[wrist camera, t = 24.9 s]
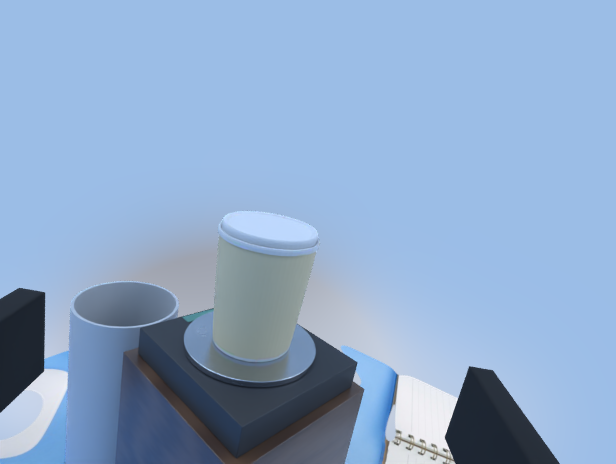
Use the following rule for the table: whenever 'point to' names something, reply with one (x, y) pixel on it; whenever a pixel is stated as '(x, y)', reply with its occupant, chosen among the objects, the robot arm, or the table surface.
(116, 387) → the cylinder vase
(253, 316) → the coffee cup
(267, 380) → the scale pan
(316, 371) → the scale
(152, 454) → the dark grey tall block
